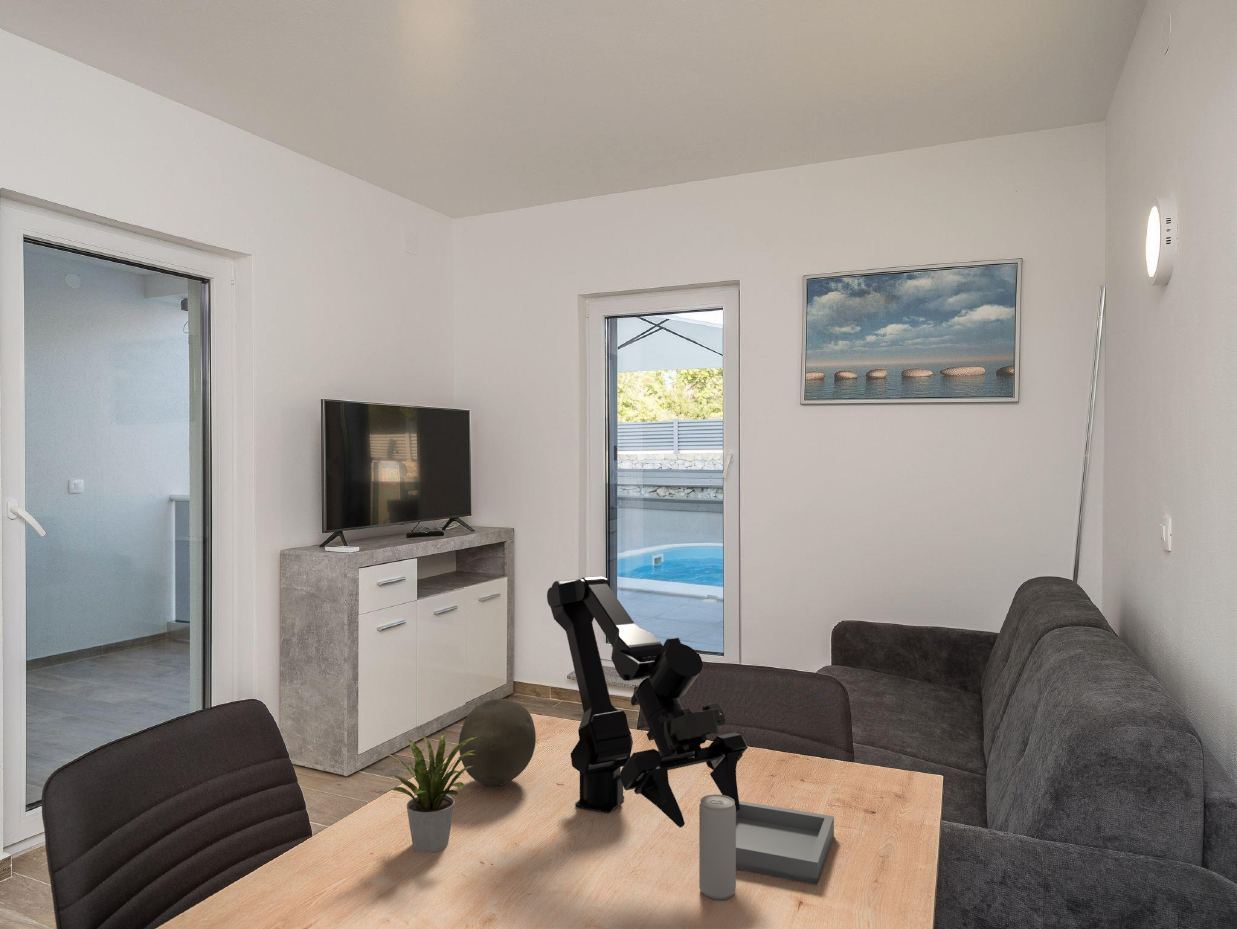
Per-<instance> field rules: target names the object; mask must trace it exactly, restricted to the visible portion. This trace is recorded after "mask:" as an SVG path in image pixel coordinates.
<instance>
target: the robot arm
mask: <svg viewBox="0 0 1237 929" xmlns="http://www.w3.org/2000/svg"><path fill="white" fill-rule="evenodd" d="M546 593H547V594H546V599H547V600H546V601H547V603H548V606H549V608H550V609H551V614H552V617H553V620H554V621H555V622H556V623H557V624H558V625H559V626H560V627H561V629H563V630H564V631H565V633H566V634H565V635H566V637H567V643H568V647H569V651H570V656H571V660H572V665H573V669H574V674H575V675H574V676H575V678H576V682H577V688H578V692H579V697H580V701H581V705H582V709H583V710H582V711H583V714H582V717H581V720H580V723H579V727H578V730H577V733H578V737H579V738H578V742H577V743H576V745H574V747H573V749H572V750H571V752H570V759H571V766H572V767H573V769H575V770H577V771H578V772H579V799H578V801H576V802H575V804H574V806H575V807H576V808H580V809H587V810H592V811H597V812H603V813H611V812H613V811H614V810H615V809H616V808H617V807H618V806H619V805H620V804H621V803H622V802H623V801H624V800H625V796H624V790H625V791H631V790H633V792H634V794H635V795H641V796H643V797H644V798H645V799H646V800H648V801H649V802H650V803H652V804H653V805H655V807H656V808H658V809H659V810H660V811H661V812H662V813H663V814H664V815H665V816H666V817H667V818H669V819H670V820H671V821H672V823H674V824H675V825H676V826H677V827H678V828H681V829H682V828H683V827H684V826H685V820H684V816H683V814H682V813H683V812H682V811H681V808H680V806H679V804H678V801H677V800H676V796H675V794H674V792H673V790H672V788H671V785H670V781H669V773H668V772H669V771H671V770H676V769H680V768H684V767H689V766H694V765H699V764H703V763H706V765H707V766H706V767H708V768H709V769H711V770H712V771H711V772H710V773H709V774H710V777H711V779H712V780H713V782H714V783H715V785H716V787H717V788H718V790H719V792H720V793H721V794H720V795H725V796H728V797H730V798H732V799H733V800H734V801H735V807H736V813H737V812H738V811H739V810H740V805H739V801H740V799H739V798H740V797H739V792H738V790H739V789H738V782H737V766H738V762H739V761H740V760H741V758H742V757H743V754H744V753H745V752H746V751H747V749H748V748H749V747H748V744H747V742H746V741H745V738H744V737H743V734H740V733H738V732H732V733H731V732H730V733H724V734H722V735H721V734H719V735H717V736H716V737H715V738H714V740H713V741H712V742H710V744H709V745H708V746H705V747H701V745H703V744H705V743H706V742H707V741H708V737H707V736H708V735H711V734H718V733H719V732H720V730H719V727H721V726H724V725H725V724H726V717H725V713H724V710H723V708H722V707H721V706H720V704H719V703H718V702H715V703H714V702H713V703H712V702H711V703H708V704H707V705H706V704H705V705H704V706H702V710H701V711H695V712H694V711H693V712H692V710H690V708H687V709H684V708H683V705H682V703H681V700H680V699H679V698H681V697H683V696H684V695H685V694H686V693H687V691H688V690H689V688H690V687H691V686H692V685H693V684H694V682H695V680H696V679H698V678H697V677H698V676H699V675H700V673H701V672H702V670H703V660H702V657H701V655H700V653H698V652H697V651H696V649H693V648H692V647H691V646H688V645H687V644H684V643H682V642H681V640H680V637H673V638H672V637H671V638H666V639H665V642H664V643H662V642H661V641H660V640H659V639H658V638H657V637H656V636H655V635H654V634H653V633H651V632H650V631H648V630H645V629H643V628H642V627H639V626H638V625H637V624H636V623H635V621H634V620H633V619H632V618H631V616H630V615H629V613H628V611H627V610H626V609H625V608H624V606H623V604H622V603H621V602H620V600H619V599H618V597H617V596H616V595H615V593H614V592H613V590H612V589H611V586H610V583H609V579H608V578H606V577H603V576H601V575H599V576H586V577H582V578H579V579H568V580H567V579H566V580H555V581H554V582H553V583H552V585H551V587H549V588H548V590H547V592H546ZM594 620H595V621H596V623H597V624H598V626H599V627H600V629H601V631H602V632H603V634H604V635H605V636H606V638H607V640H608V641H609V643H610V645H611V648H612V650H611V656H610V658H611V662H612V663H613V666H614V669H615V671H616V672H617V674H618V676H619V677H620V679H622V680H623V681H624V682H625V681H626V682H628V681H629V682H630V681H634V680H635V681H636V680H642V681H641V682H639V685H638V686H634V687H633V694H632V696H631V698H630V699H631V700H630V704H631V706H633V707H634V706H639V708H640V709H641V713H642V715H643V717H644V719H645V722H646V724H647V726H648V729H649V730H648V732H646V734H645V735H646V737H647V739H648V742H650V741H654V743H655V746H656V748H657V749H655V748H651V749H646V750H641V751H635V752H632V749H633V744H634V741H633V737H632V732H631V729H630V727H629V724H628V717H627V714H626V713H625V712H626V711H624V710H623V709H622V710H618V709H617V708H616V707H615V706H614V705H613V704H612V701H611V697H610V693H609V688H608V685H607V680H606V676H605V670H604V667H603V664H602V658H601V655H600V651H599V646H598V642H597V638H596V634H595V629H594V625H593V622H594Z"/></svg>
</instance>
